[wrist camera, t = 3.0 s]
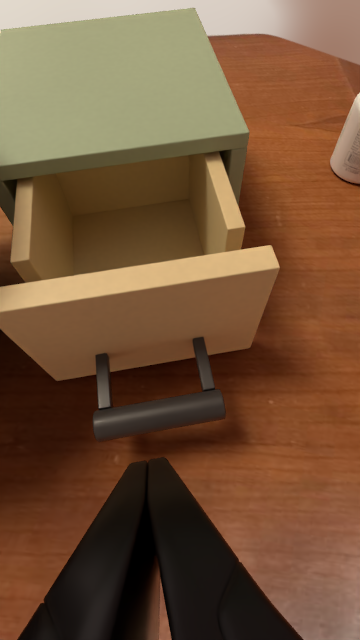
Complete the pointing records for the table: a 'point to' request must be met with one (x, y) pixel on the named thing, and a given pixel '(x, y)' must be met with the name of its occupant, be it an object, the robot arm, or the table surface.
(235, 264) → the drawer
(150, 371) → the table surface
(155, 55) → the cabinet
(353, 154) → the pill bottle
